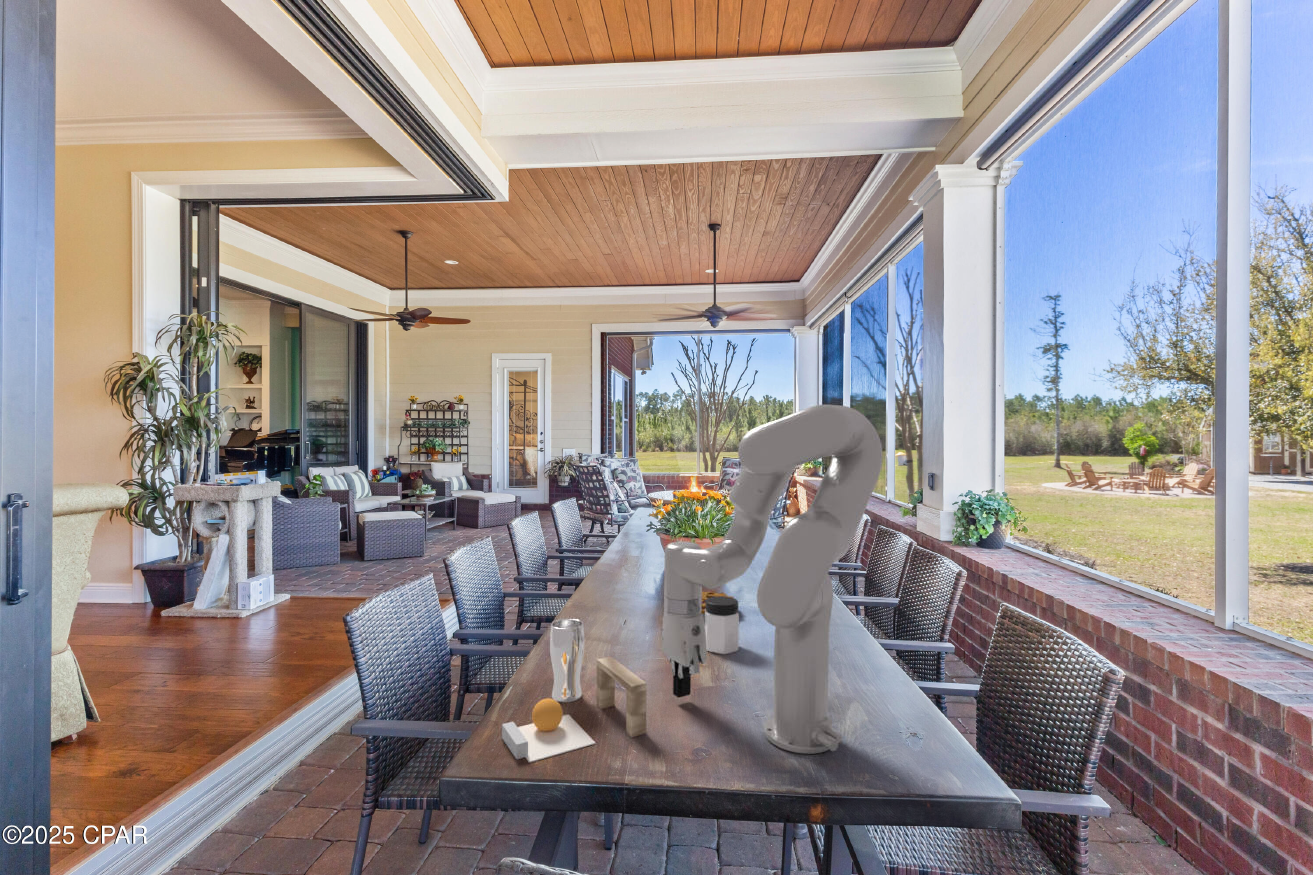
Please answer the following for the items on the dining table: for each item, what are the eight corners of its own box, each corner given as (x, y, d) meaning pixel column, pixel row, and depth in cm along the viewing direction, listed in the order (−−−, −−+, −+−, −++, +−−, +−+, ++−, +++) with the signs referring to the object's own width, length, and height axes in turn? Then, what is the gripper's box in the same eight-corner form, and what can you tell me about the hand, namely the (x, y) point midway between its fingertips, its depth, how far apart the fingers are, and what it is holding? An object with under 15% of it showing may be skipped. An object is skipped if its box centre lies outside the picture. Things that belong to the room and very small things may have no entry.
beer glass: (568, 706, 121) (569, 631, 121) (542, 698, 125) (542, 624, 124) (590, 693, 127) (591, 621, 127) (564, 685, 131) (565, 616, 130)
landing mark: (595, 743, 107) (595, 742, 107) (529, 762, 101) (529, 761, 101) (568, 715, 118) (568, 714, 118) (506, 730, 111) (506, 729, 111)
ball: (534, 739, 109) (564, 735, 111) (538, 709, 108) (568, 706, 110) (527, 722, 113) (555, 719, 116) (531, 693, 113) (559, 691, 115)
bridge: (610, 701, 123) (610, 656, 123) (646, 733, 111) (646, 682, 111) (596, 704, 122) (596, 659, 122) (631, 737, 110) (631, 686, 109)
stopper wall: (528, 756, 103) (528, 741, 103) (516, 759, 102) (516, 744, 102) (513, 735, 110) (513, 721, 110) (502, 737, 109) (502, 724, 109)
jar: (717, 656, 148) (718, 607, 148) (697, 646, 155) (697, 599, 154) (745, 649, 153) (746, 601, 152) (724, 639, 160) (725, 594, 159)
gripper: (720, 611, 119) (719, 705, 119) (678, 592, 132) (677, 677, 132) (688, 617, 115) (686, 714, 115) (647, 597, 128) (647, 684, 128)
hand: (681, 694), depth 124 cm, fingers closed
